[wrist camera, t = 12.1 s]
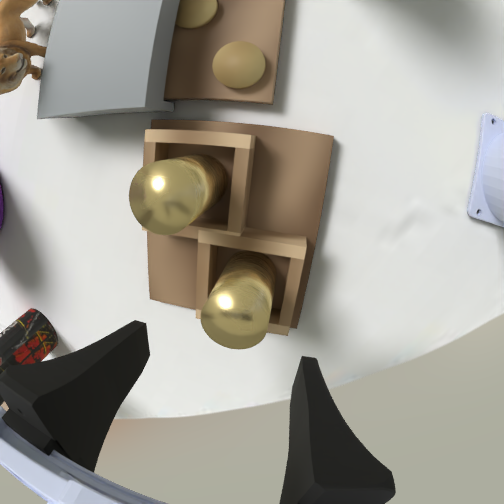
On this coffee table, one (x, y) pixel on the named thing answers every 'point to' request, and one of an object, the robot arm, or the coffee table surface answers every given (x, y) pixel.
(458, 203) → the coffee table surface
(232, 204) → the peg board
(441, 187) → the coffee table surface
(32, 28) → the lion figurine
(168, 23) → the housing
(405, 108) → the coffee table surface
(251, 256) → the brass peg
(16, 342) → the deodorant
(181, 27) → the board
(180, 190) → the placed peg
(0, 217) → the mug
